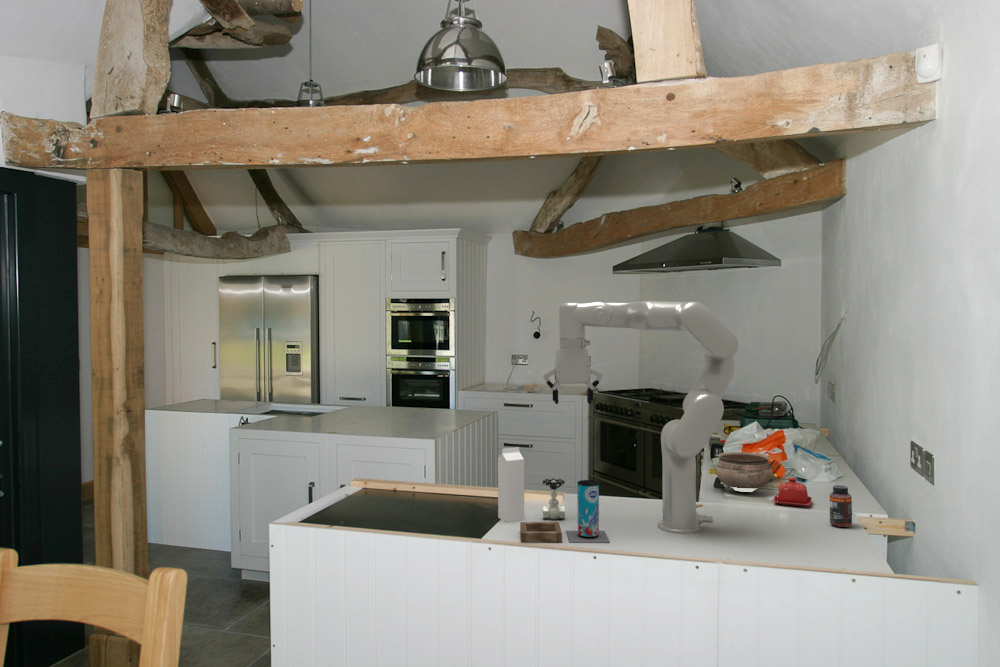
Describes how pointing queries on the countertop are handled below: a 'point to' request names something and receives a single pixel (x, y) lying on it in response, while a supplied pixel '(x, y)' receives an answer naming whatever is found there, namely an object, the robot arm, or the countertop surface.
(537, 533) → the walnut socket block
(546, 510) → the valve
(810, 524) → the countertop surface
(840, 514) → the supplement bottle
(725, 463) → the cooking pot
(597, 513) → the beverage can
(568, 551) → the countertop surface
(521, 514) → the milk
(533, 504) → the countertop surface
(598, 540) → the charcoal rubber mat
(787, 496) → the butter dish
